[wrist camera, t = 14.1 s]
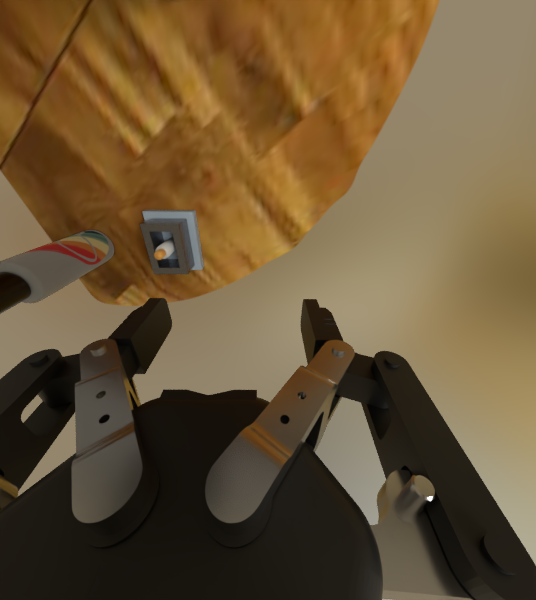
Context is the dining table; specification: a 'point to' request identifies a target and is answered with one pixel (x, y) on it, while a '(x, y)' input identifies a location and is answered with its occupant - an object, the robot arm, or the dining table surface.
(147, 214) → the grey base with peg
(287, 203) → the dining table surface
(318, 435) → the robot arm
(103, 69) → the dining table surface
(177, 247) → the link
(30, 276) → the lotion bottle
